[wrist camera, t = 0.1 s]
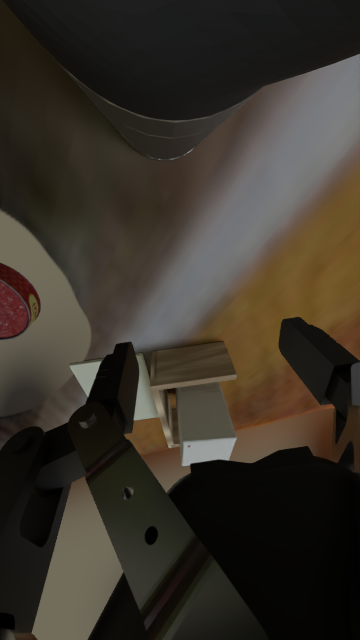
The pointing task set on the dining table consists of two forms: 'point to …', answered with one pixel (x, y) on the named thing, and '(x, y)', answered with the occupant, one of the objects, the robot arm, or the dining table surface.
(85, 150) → the dining table surface
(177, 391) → the supplement box
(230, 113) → the robot arm
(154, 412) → the mat
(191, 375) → the box
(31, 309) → the canned food
